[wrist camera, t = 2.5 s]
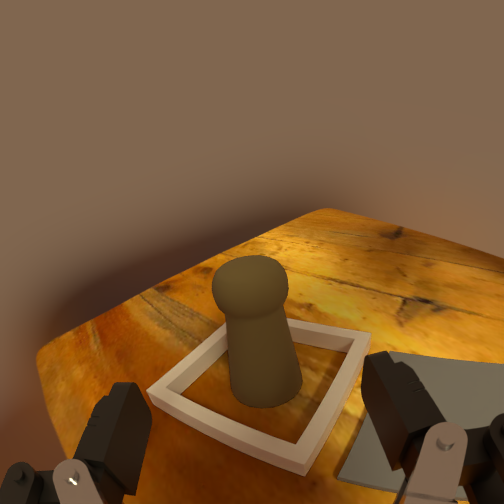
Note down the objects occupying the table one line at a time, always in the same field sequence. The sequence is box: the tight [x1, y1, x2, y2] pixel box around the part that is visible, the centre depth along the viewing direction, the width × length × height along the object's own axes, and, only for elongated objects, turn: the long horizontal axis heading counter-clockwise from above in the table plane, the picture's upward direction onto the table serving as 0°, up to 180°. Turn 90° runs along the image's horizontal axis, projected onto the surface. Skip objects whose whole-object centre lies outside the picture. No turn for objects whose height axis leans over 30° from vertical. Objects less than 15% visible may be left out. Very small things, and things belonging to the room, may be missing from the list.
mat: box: [337, 351, 504, 501], centre depth 16 cm, size 13×13×1 cm
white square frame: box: [146, 318, 371, 476], centre depth 24 cm, size 14×14×2 cm
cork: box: [212, 255, 302, 408], centre depth 22 cm, size 6×6×11 cm
